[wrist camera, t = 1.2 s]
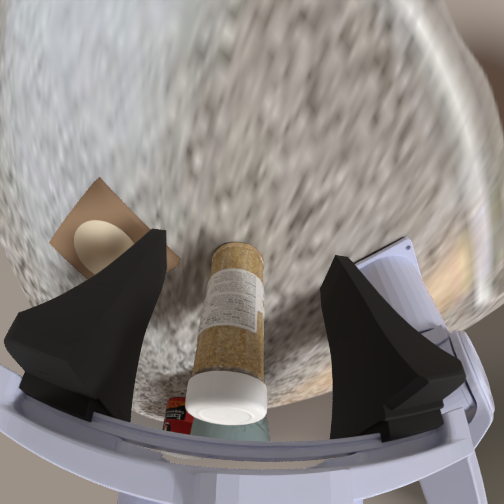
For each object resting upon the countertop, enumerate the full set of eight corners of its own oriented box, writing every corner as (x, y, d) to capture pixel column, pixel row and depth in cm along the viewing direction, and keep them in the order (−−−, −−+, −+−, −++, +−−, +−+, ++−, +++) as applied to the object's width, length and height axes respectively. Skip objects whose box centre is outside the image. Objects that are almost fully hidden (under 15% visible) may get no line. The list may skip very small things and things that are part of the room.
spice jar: (254, 285, 25) (251, 430, 15) (206, 273, 25) (180, 419, 14) (272, 247, 23) (280, 409, 12) (218, 232, 22) (189, 396, 11)
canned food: (181, 393, 43) (173, 450, 34) (216, 407, 46) (211, 459, 37) (160, 400, 46) (151, 450, 37) (192, 412, 49) (187, 459, 41)
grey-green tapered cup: (190, 377, 38) (180, 450, 29) (210, 347, 32) (199, 439, 23) (252, 391, 40) (250, 459, 31) (283, 364, 35) (286, 449, 25)
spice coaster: (180, 259, 24) (178, 265, 23) (119, 298, 27) (117, 304, 27) (99, 177, 19) (94, 181, 18) (52, 238, 22) (48, 243, 22)
